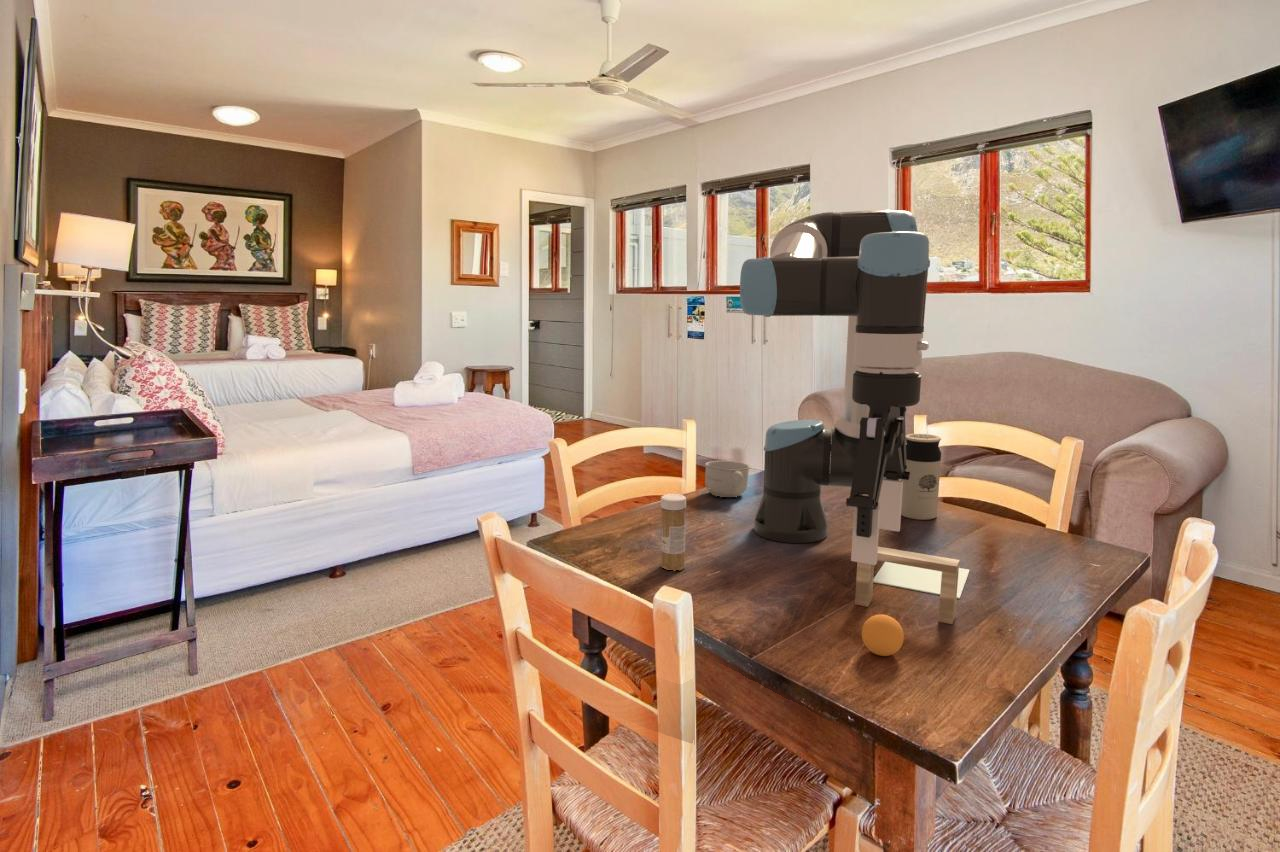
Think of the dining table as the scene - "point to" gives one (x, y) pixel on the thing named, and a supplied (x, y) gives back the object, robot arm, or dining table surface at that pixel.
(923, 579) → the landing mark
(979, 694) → the dining table surface
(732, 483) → the teacup
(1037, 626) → the dining table surface
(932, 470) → the travel mug
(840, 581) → the dining table surface
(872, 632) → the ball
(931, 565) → the bridge
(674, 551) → the sprinkles bottle
